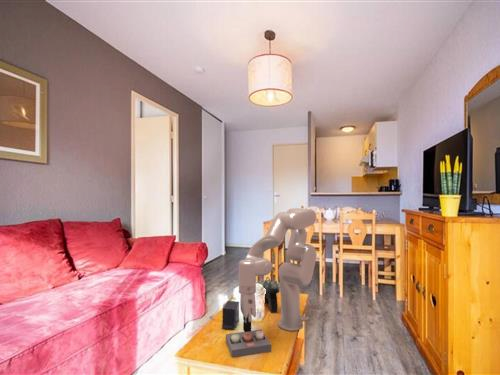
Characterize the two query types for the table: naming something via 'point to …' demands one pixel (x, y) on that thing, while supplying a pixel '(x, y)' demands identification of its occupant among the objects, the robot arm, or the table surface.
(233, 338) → the sage button
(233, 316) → the small box
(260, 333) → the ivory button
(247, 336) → the terracotta button
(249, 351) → the button box
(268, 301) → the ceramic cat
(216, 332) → the table surface
